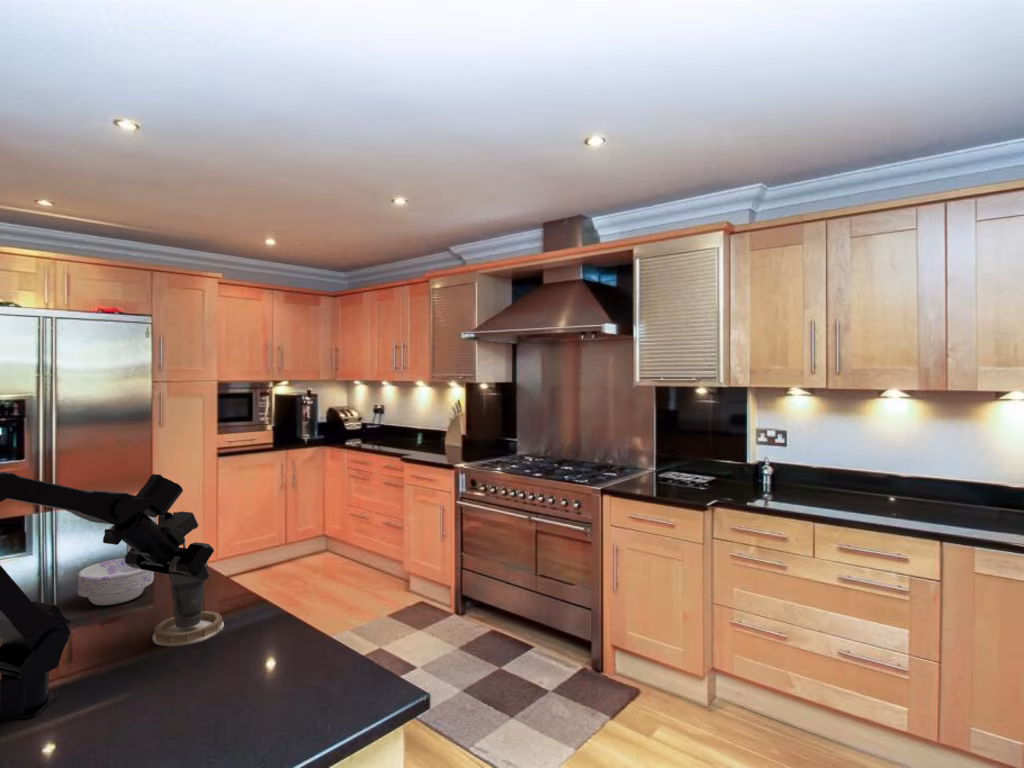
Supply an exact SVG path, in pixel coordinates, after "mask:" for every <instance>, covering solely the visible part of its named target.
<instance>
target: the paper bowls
mask: <svg viewBox="0 0 1024 768" xmlns="http://www.w3.org/2000/svg"><path fill="white" fill-rule="evenodd" d="M154 573H155V572H153V571H147V570H141V569H139V568H132V567H130V566H129V565H127V564H126V563H125V557H123V558H115V559H111V560H105V561H102V562H98V563H94V564H92V565H89V566H87V567H85V568H83V569H82V570H80V571H79V572H78V574H77V583H78V584H77V585H78V586H77V587H78V588H77V594H78V596H80V597H84V598H87V599H88V600H89V601H90V603H92V604H93V605H96V606H113V605H118V604H123V603H126V602H129V601H130V602H131V600H134V599H136V598H138V597H139V596H141V595H142V594H143V592H144V591H145V589H146V587H148V586H149V585H151V584H152V583H153V582H154V579H155V574H154Z"/></svg>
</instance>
